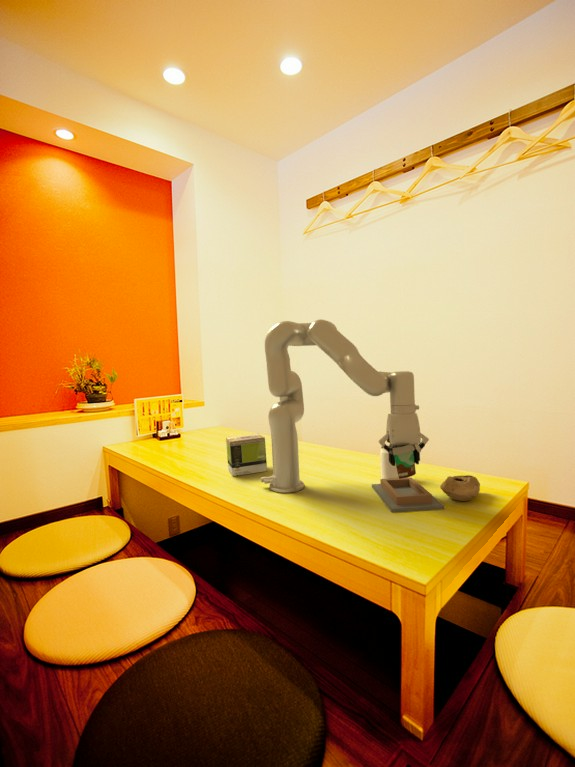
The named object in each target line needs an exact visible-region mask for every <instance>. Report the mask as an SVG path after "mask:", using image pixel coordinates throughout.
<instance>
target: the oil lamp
mask: <svg viewBox="0 0 575 767" xmlns="http://www.w3.org/2000/svg"><path fill="white" fill-rule="evenodd" d="M439 487H440V488H439V489H441V491H442V492H443V493H444V494H445V495H446V496H448V497H449V498H450V499H451V500H454V501H460V502H461V501H462V502H465V501H470V500H471V499H472V498H474V497H475V496H477V495H479V493H480V489H481V488H480V487H481V483H480V481H479V480H478V478H477V476H474V475H470V474H467V475H462V474H461V475H454V476H450V475H449V476H447V478H446V479H445V480H444V481H443V482H442V483H441V484H440V486H439Z"/></svg>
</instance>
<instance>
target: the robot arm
mask: <svg viewBox="0 0 575 767" xmlns="http://www.w3.org/2000/svg"><path fill="white" fill-rule="evenodd" d="M289 346H290V347H291V346H292V347H303V346H304V347H305V346H308V347H309V346H311V347H312V346H317V347H318V348H319V349H320V350H321V351H322V352H324V354H325V355H327V356H328V357H329V358H330V359H331V360H332V361H334V363H336V365H337V366H338V367H339V369H341V370H342V371H343V373H344V374H345V375H346V376H347V377H348V378H349V379H350V380H351V381H352V382H353V383H354V384H355V385H356V386H358V387H359V388H360V389H361V390H362V391H363V392H364V393H366V394H367V395H368V396H371V397H381V396H382V395H383V394H386V393H389V400H390V401H389V402H390V404H389V405H390V413H388V414H387V417H386V418H387V419H386V431H385V434H384V435H383V436H382V437H381V438H380V439H379V440H378V444H380V446H381V447H382V446H383V448H384V449H386V450H387V451H388V453H389V463H390V464H391V465H392V466H395V458H394V455H393V448H396V446H401V445H409V444H411V445H414V447H415V449H414V450H413V454H414V462H415V465H419V464H420V461H421V452H422V450H423V449H424V448H425V445H426V444H428V442H429V441H430V439H429V438H428V437H427V436H426V435H425V434H423V433H422V432H421V428H420V427H421V426H420V422H419V421H420V420H419V416H418V414H417V413H416V411H417V410H420V406H419V404H418V405H417V404H415V402H416V400H415V375H414V373H413V372H411V371H409V370H407V371H406V370H405V371H403V370H402V371H393V372H390V371H378V370H377V369H376V368H374V367H373V366H372V365H371V364H370V363H369V362H368V361H367V360H366V359H365V358H364V357H363V356H362V355H361V354H360V352H359V349H358V348H357V346H356V345H355V344H354V343H353V342H351V341H350V340H349V339H348V338H347V337H346V336H344V335H343V334H342V333H341V332H340V331H339V330H338V328H337V326H336V325H335V324H334V323H333V322H331V321H329V320H326V319H320V318H319V319H317V320H314V321H313V322H305V323H304V322H300V323H298V322H294V321H291V320H284V321H283V320H282V321H279V322H277V323H276V324H274V325H273V326H271V328H270V329H269V330H268V331H267V333H266V335H265V339H264V353H265V359H266V360H265V361H266V362H265V363H266V371H267V373H266V374H267V384H268V389H269V392H270V394H271V395H272V396H274V397H276V398H279V401H278V402H275V403H274V404H273V405H272V406H271V407H270V408H269V411H268V425H269V429H270V435H271V436H270V438H271V451H272V452H271V454H272V457H271V458H272V472H273V473H272V475H269V476H261V477H260V480H261V481H260V482H261V483H263V484H269V489H270V490H271V491H273V492H275V493H279V494H281V493H283V494H285V493H286V494H287V493H289V494H290V493H295V492H299V491H301V490H303V488H304V486H305V482H304V481H303V480H301V479H300V459H299V456H300V455H299V441H298V439H299V438H298V430H297V426H296V424H297V423H298V422H299V421H301V419H302V418H303V417H304V413H305V406H304V405H305V404H304V394H303V385H302V380H301V378H300V375H299V374H298V373H297V372H296V371H293V370H292V368H291V359H290V355H289V351H288V348H289ZM386 443H388V445H387V444H386Z"/></svg>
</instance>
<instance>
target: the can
mask: <svg viewBox="0 0 575 767" xmlns="http://www.w3.org/2000/svg"><path fill="white" fill-rule="evenodd" d="M379 461H380V462H379V464H380V467H379V468H380V478H381V479H394V478H399V477H398V472H397V468H396V463H395V466H392V465H391V464H390V463H389V453H388V451H387V450H386V449H384V448H383V446H382V445H381V446H380V451H379Z"/></svg>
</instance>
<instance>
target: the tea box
mask: <svg viewBox="0 0 575 767" xmlns="http://www.w3.org/2000/svg"><path fill="white" fill-rule="evenodd" d="M225 443H226V455H227V468H228V471H229V473H230V475H231V474H232V475H231V476H232V477H236V476H237V475H238V476H243V475H250V474H255V473H262V472H263V473H264V472H268V464H267V463H268V461H267V453H266V452H267V450H266V449H267V448H266V438H265V437H264V436H263V435H262V434H260V433H254V434H253V433H252V434H245V435H238V436H237V435H236V436H228V437H226V438H225Z"/></svg>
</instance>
